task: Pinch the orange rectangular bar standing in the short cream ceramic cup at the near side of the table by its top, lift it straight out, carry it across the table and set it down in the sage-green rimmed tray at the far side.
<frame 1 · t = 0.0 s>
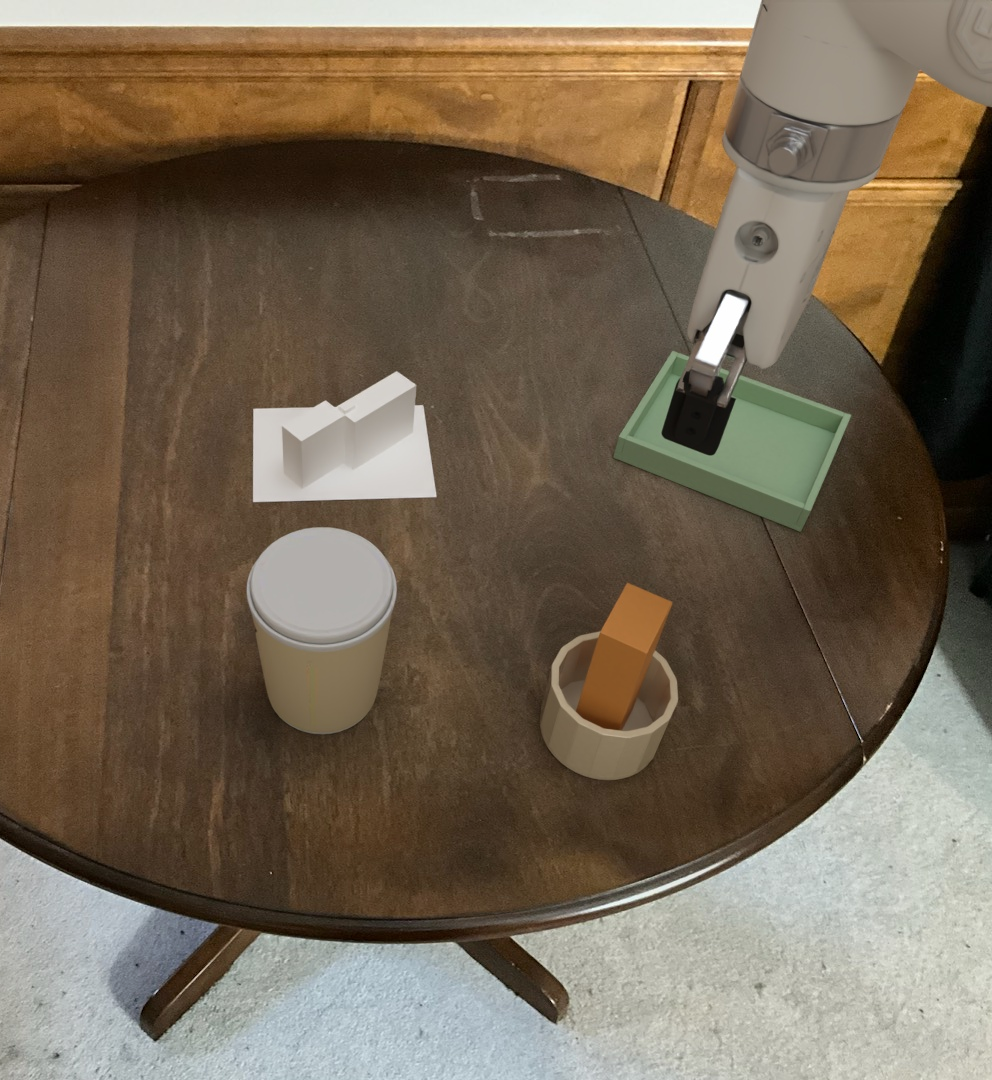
hand: (715, 395, 66), 22 cm above the table, tool pointing down, fingers open, 9 cm apart
orange rectangular bar: (600, 723, 76), resting on cup
cup: (599, 727, 76), on the table
coffee cup: (322, 689, 78), on the table
napkin holder: (341, 453, 94), on the table
tray: (728, 446, 96), on the table
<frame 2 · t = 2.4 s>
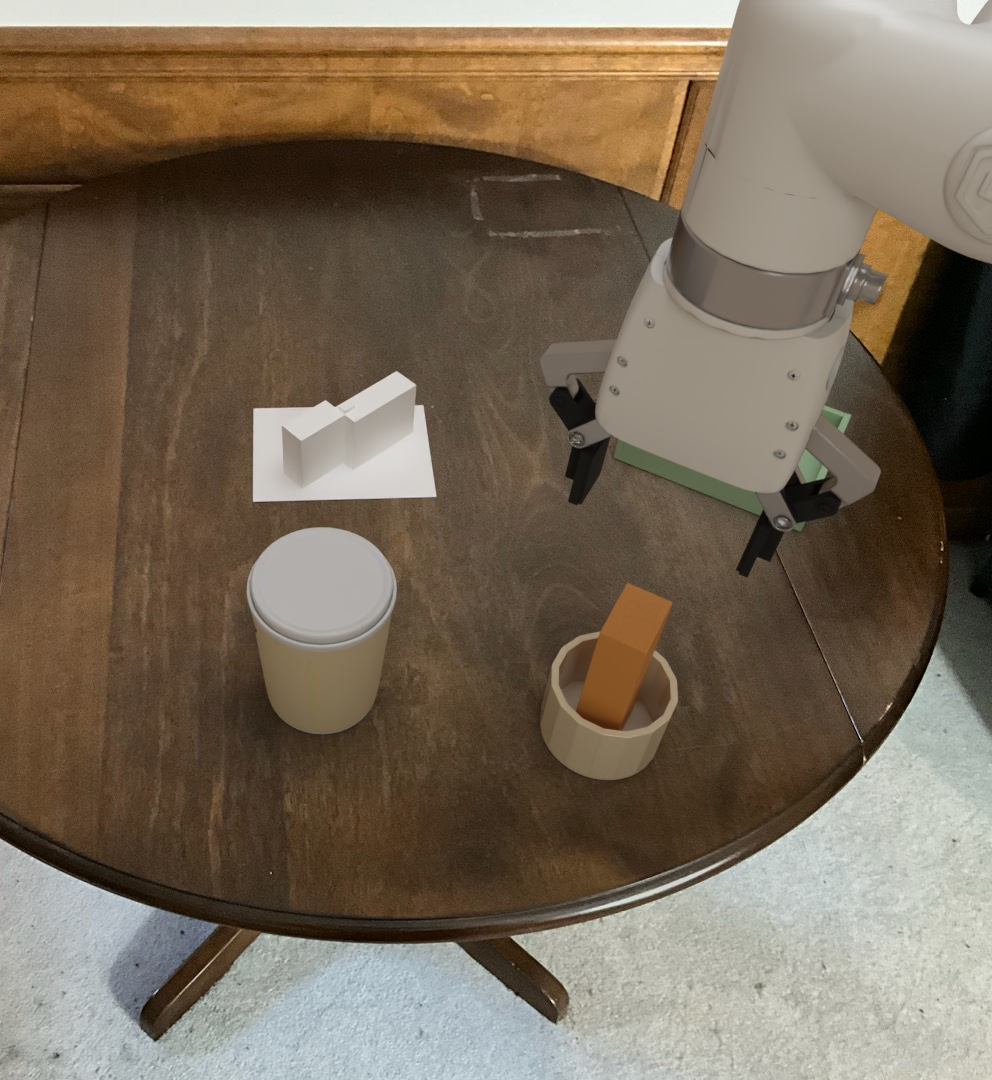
hand: (664, 523, 61), 21 cm above the table, tool pointing down, fingers open, 9 cm apart
nothing on the table moved.
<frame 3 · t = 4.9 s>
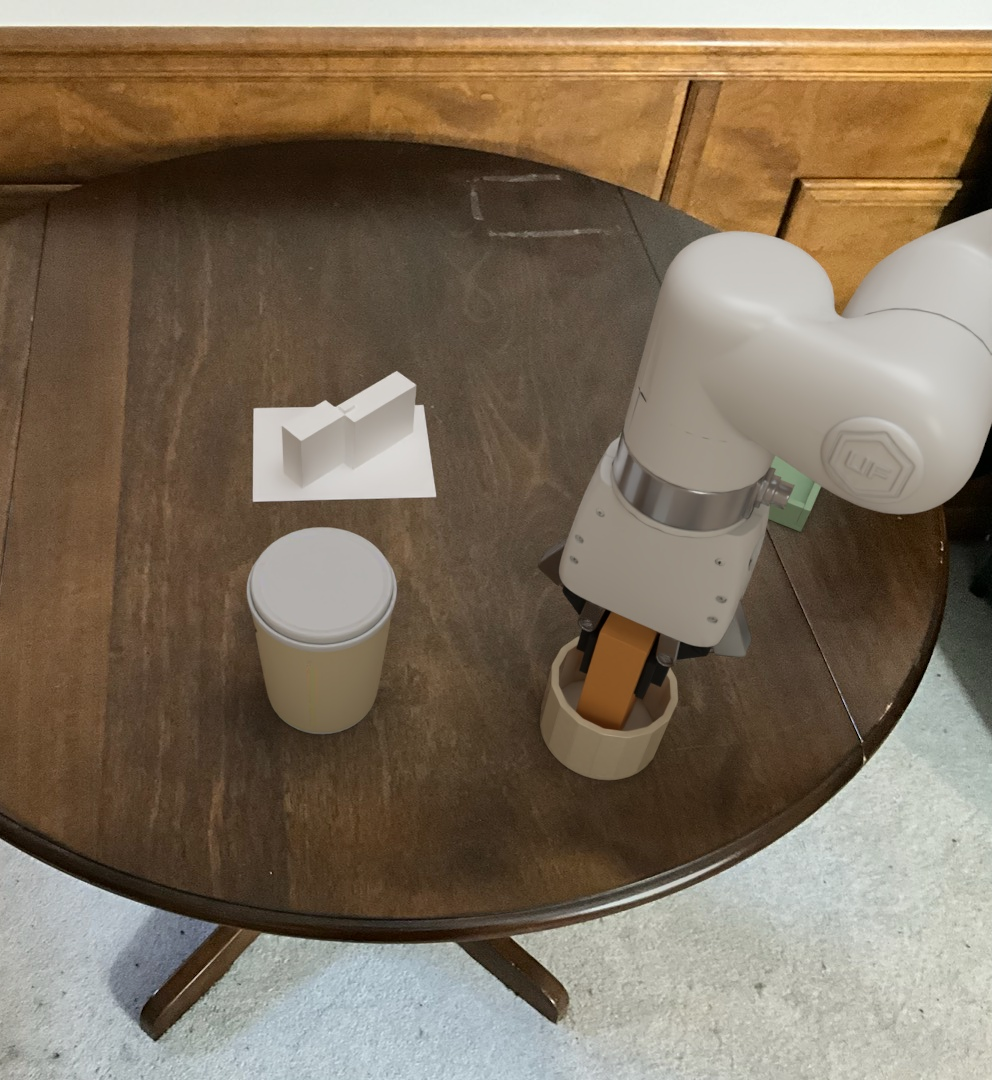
hand: (619, 668, 71), 7 cm above the table, tool pointing down, fingers closed on orange rectangular bar, 3 cm apart
orange rectangular bar: (600, 723, 76), point 1 cm above the table, touching cup, gripper
everything else where it was.
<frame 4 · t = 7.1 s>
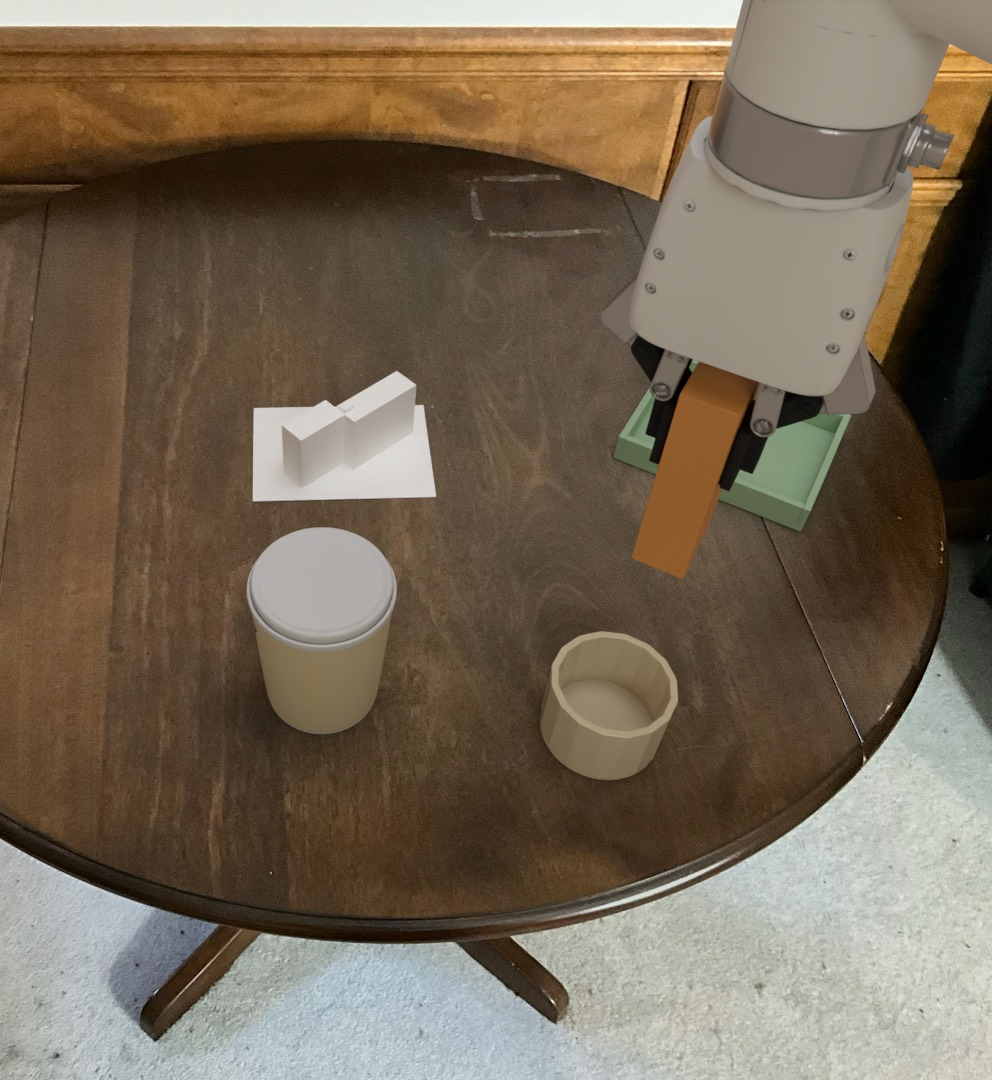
hand: (698, 457, 58), 25 cm above the table, tool pointing down, fingers closed on orange rectangular bar, 3 cm apart
orange rectangular bar: (670, 542, 63), point 19 cm above the table, touching gripper
everything else where it was.
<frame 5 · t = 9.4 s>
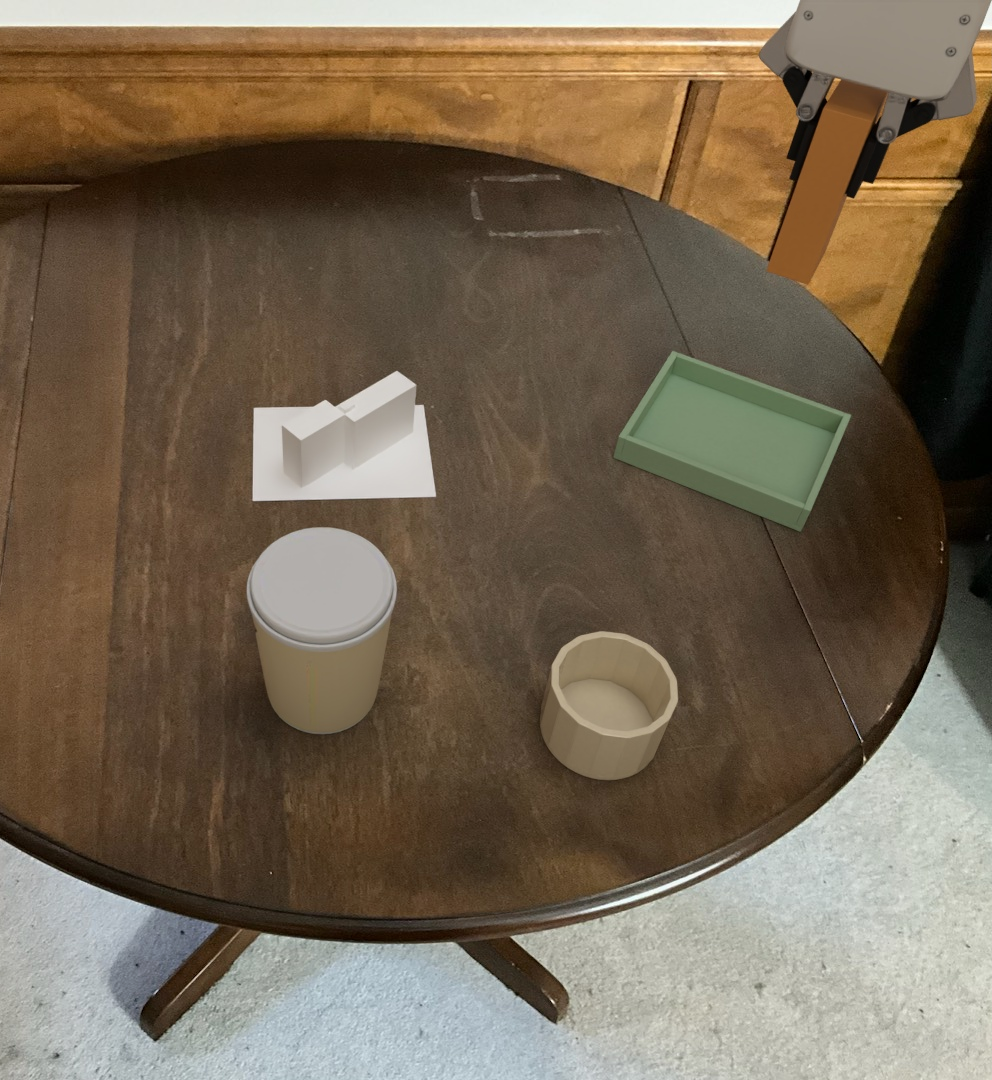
hand: (827, 177, 73), 27 cm above the table, tool pointing down, fingers closed on orange rectangular bar, 3 cm apart
orange rectangular bar: (795, 262, 78), point 21 cm above the table, touching gripper
everything else where it was.
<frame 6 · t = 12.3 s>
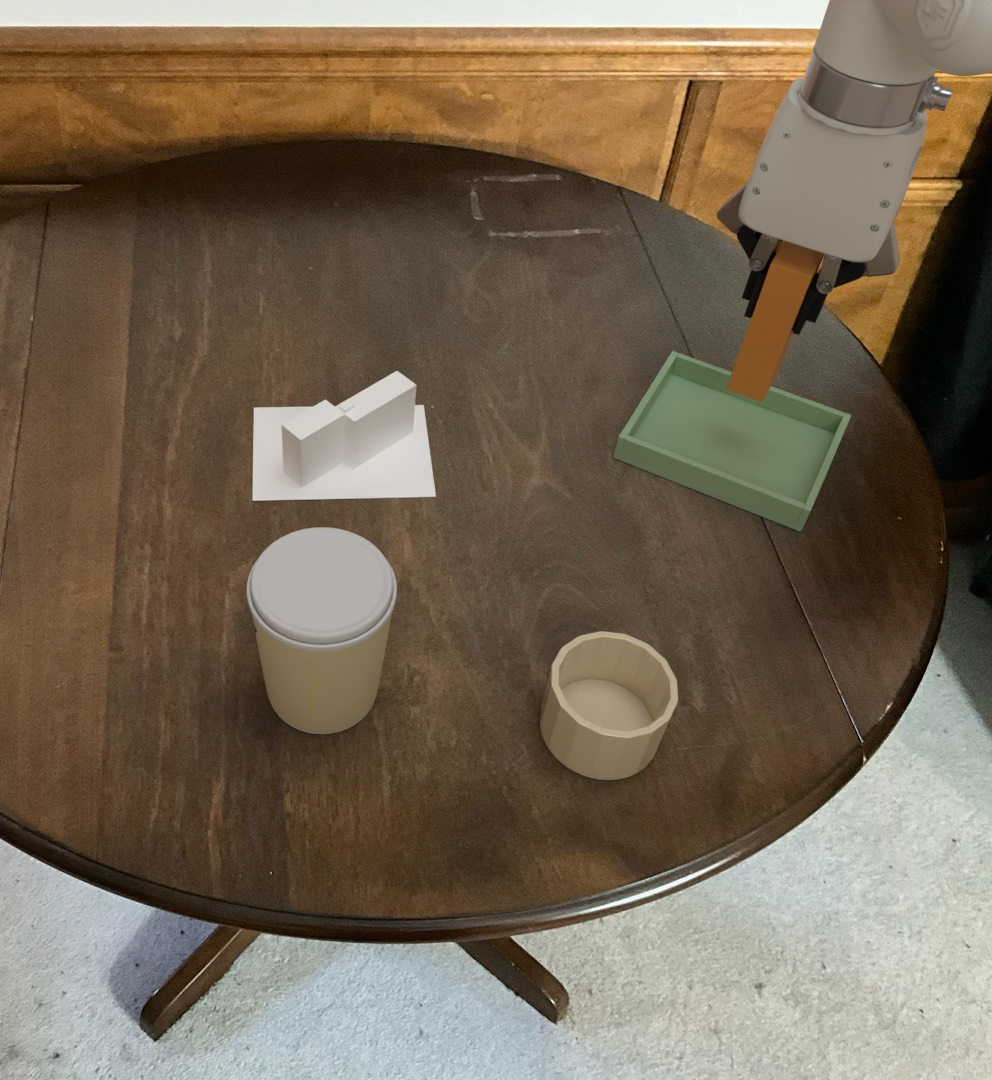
hand: (777, 314, 85), 14 cm above the table, tool pointing down, fingers closed on orange rectangular bar, 3 cm apart
orange rectangular bar: (752, 380, 90), point 7 cm above the table, touching gripper
everything else where it was.
when the fingers open (7 cm above the table, at t = 14.1 s): orange rectangular bar stays where it is, resting on tray.
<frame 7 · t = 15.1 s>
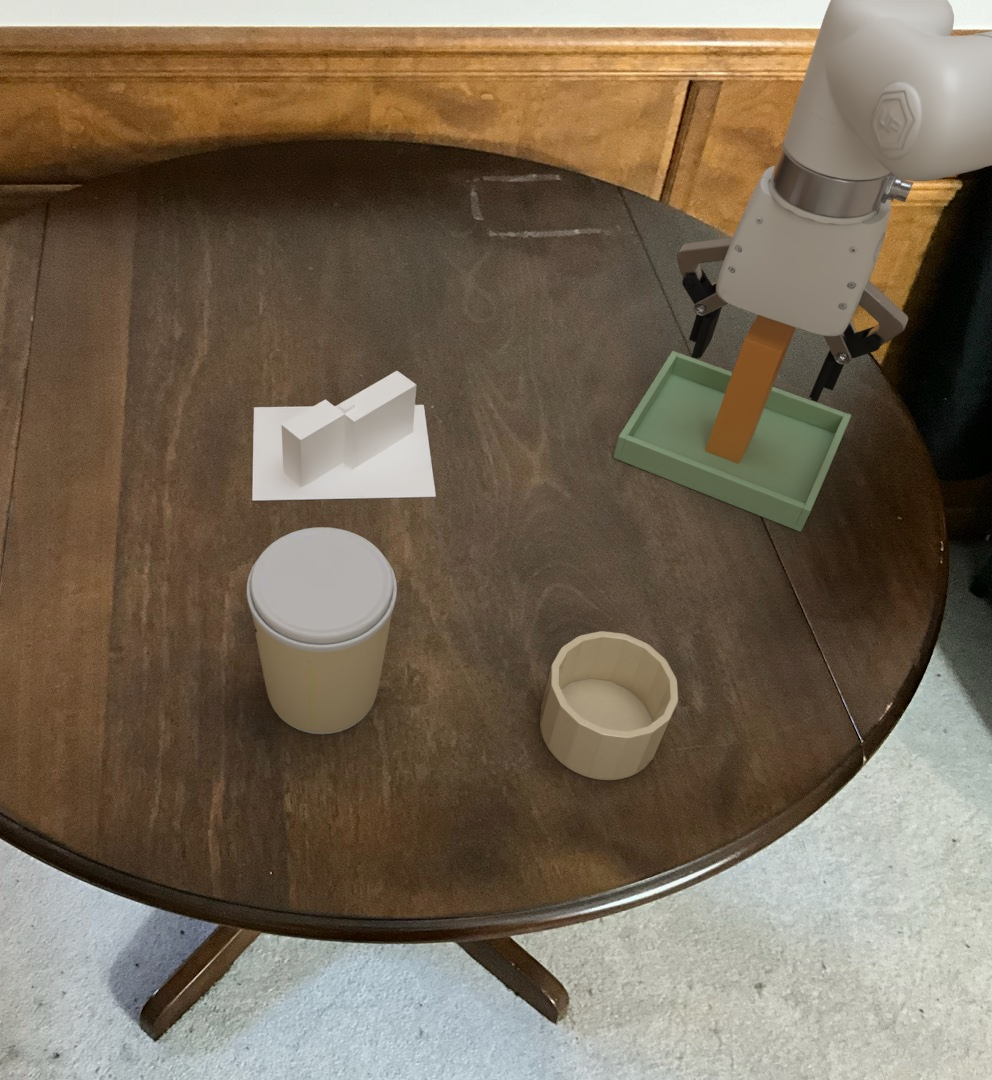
hand: (758, 369, 89), 9 cm above the table, tool pointing down, fingers open, 9 cm apart
orange rectangular bar: (729, 441, 95), resting on tray
everything else where it was.
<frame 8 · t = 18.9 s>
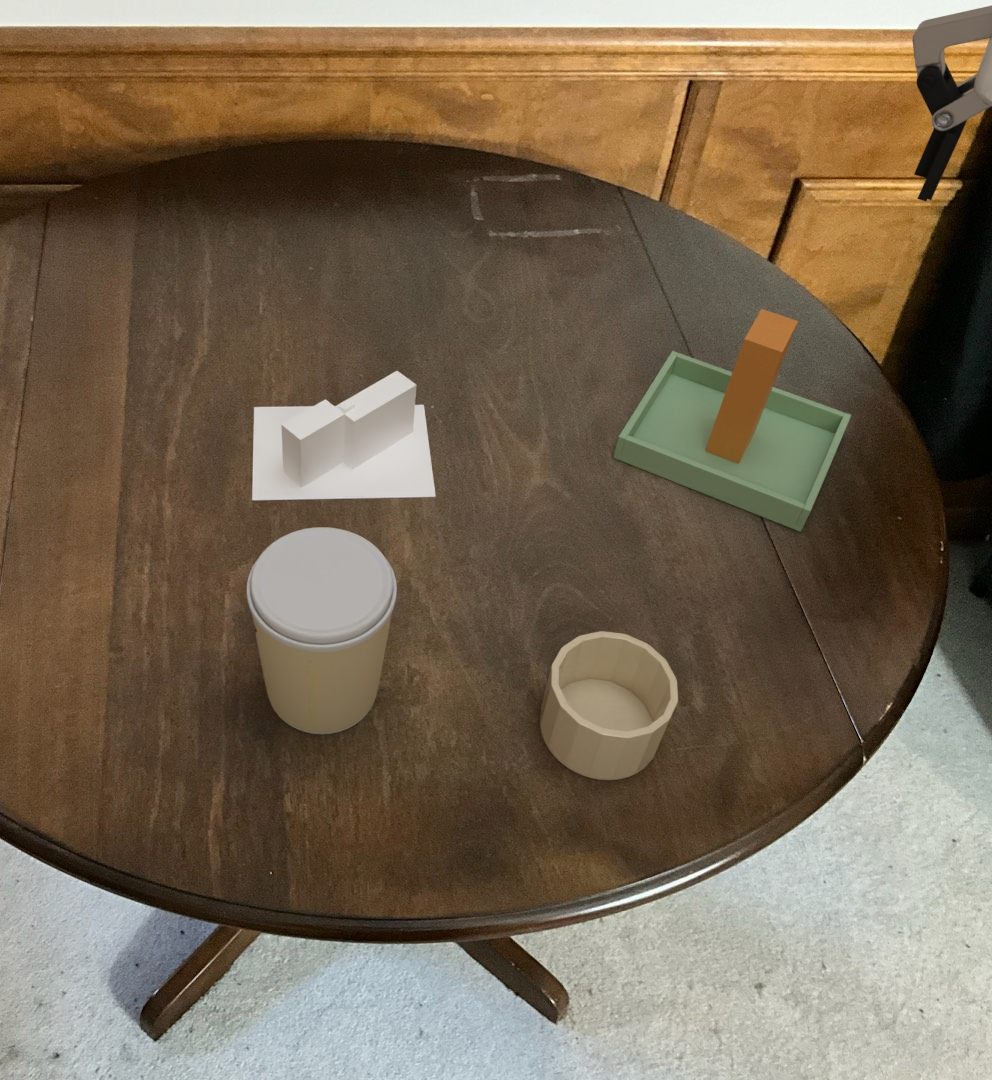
nothing on the table moved.
at the end: orange rectangular bar inside the target area in the tray (0.1 cm from its centre), point 0.5 cm above the tray's base; orange rectangular bar touching tray; the gripper is holding nothing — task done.
